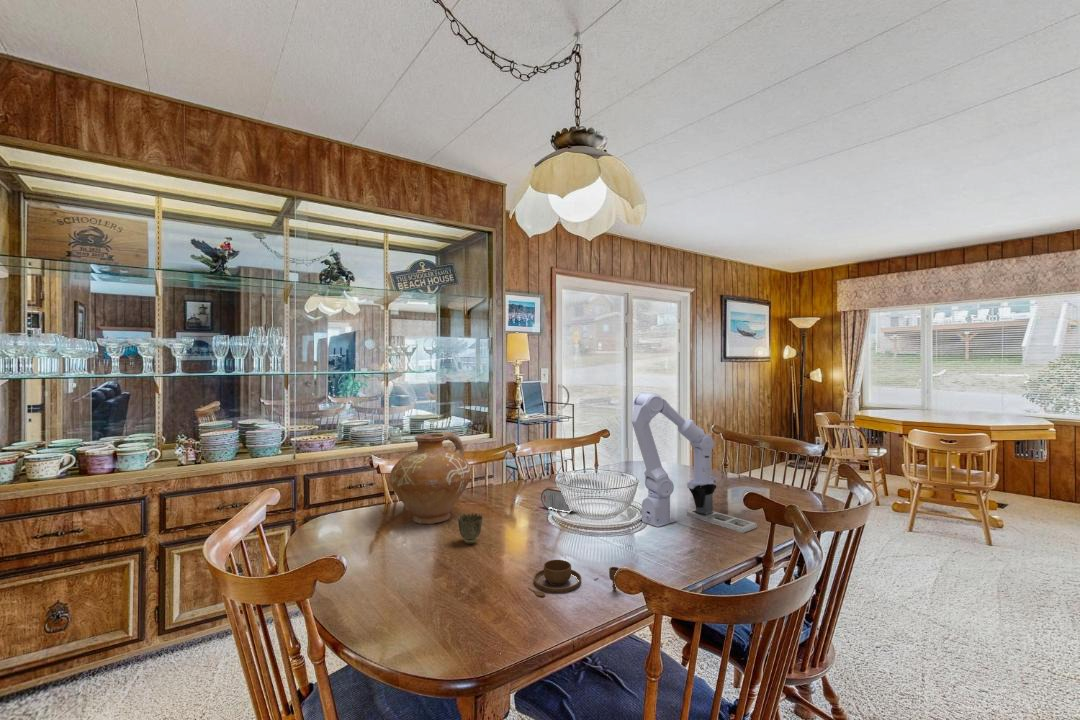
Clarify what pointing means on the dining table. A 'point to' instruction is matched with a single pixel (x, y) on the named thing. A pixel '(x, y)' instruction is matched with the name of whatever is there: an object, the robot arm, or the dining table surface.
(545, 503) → the tin
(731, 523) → the grey compartment tray
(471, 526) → the cup
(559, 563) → the place setting
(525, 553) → the dining table surface
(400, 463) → the jug
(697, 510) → the block
